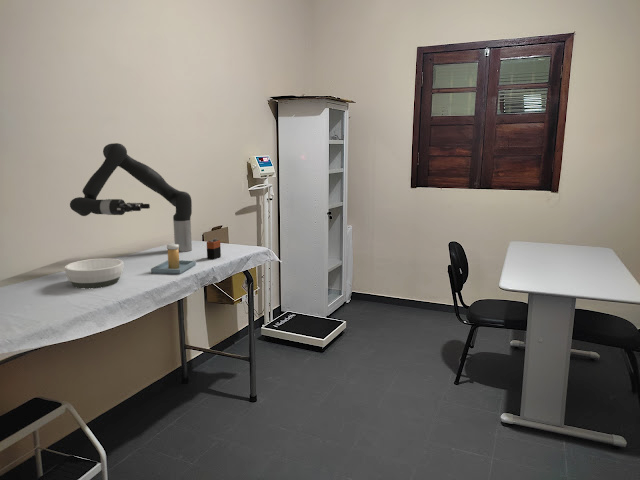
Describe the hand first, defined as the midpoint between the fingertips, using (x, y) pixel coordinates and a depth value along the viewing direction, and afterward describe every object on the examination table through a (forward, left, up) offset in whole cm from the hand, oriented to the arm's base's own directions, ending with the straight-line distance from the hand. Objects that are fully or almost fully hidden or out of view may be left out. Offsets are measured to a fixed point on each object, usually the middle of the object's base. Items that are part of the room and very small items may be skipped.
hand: (144, 207), depth 225 cm
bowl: (+30, -8, -29) cm, 43 cm away
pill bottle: (+2, +14, -28) cm, 32 cm away
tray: (+2, +14, -29) cm, 32 cm away
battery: (-24, +24, -29) cm, 45 cm away
